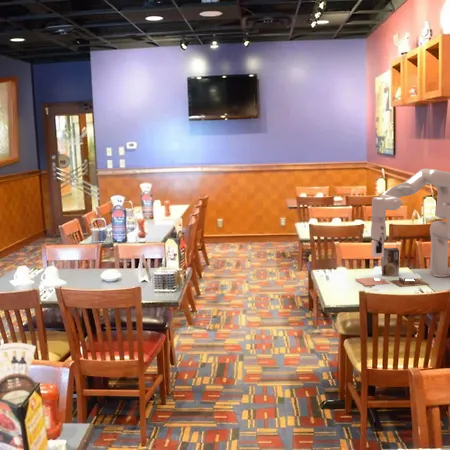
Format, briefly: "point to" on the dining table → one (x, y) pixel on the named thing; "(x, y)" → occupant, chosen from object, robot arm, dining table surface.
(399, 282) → the brown rectangular board
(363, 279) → the reddish pink flat square
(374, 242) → the pink rounded block
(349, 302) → the dining table surface
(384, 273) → the coffee box
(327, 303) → the dining table surface
